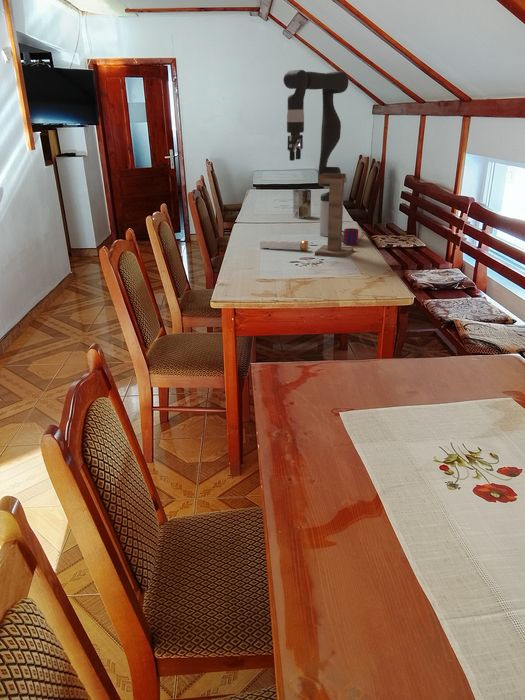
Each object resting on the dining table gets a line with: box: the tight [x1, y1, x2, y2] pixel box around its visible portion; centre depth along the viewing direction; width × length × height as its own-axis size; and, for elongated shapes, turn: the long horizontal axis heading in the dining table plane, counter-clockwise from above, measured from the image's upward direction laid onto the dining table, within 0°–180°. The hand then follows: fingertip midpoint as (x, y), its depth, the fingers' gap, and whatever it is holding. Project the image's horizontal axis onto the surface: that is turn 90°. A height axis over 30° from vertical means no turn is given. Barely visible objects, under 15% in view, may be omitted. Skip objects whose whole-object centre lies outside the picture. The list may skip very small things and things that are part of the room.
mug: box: [342, 227, 359, 246], centre depth 254 cm, size 7×10×7 cm
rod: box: [259, 240, 309, 252], centre depth 246 cm, size 4×22×4 cm, turn 68°
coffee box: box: [292, 188, 312, 219], centre depth 324 cm, size 9×6×16 cm
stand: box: [314, 173, 354, 258], centre depth 232 cm, size 14×14×34 cm
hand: (295, 159), depth 243 cm, fingers open, 8 cm apart
